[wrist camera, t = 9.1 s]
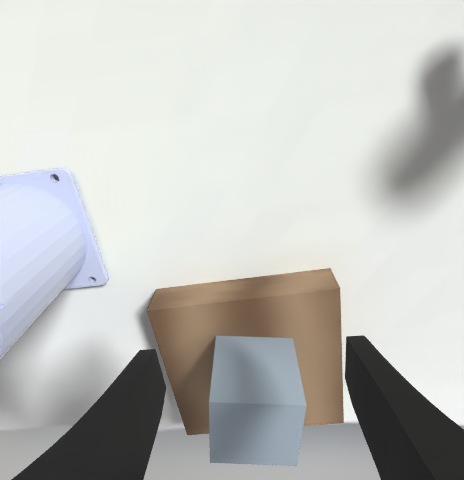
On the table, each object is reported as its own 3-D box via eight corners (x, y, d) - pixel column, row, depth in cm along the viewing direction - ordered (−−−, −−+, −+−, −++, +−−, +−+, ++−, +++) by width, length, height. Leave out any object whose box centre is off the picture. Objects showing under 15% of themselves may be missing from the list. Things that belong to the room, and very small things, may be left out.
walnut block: (192, 401, 28) (187, 435, 26) (158, 284, 24) (147, 310, 21) (333, 389, 27) (343, 422, 25) (328, 264, 22) (340, 288, 20)
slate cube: (216, 390, 24) (210, 462, 19) (216, 335, 21) (209, 402, 17) (286, 392, 23) (296, 465, 19) (292, 338, 21) (306, 405, 17)
